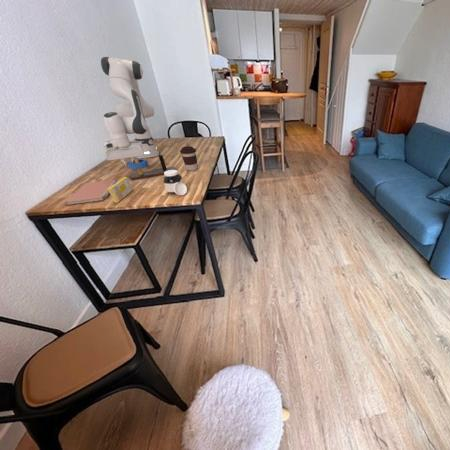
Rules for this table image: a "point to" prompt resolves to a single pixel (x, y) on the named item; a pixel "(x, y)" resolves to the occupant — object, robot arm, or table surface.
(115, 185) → the candy box
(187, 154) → the coffee cup
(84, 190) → the notebook
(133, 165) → the tape roll
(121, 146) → the robot arm
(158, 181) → the table surface
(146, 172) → the peg rack
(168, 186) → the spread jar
